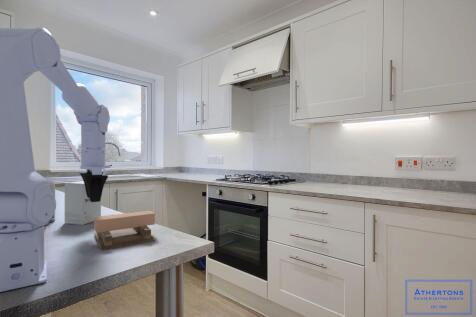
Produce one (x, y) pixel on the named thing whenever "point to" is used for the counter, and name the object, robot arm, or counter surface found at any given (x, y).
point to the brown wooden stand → (123, 237)
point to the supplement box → (79, 204)
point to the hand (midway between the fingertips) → (93, 199)
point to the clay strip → (123, 221)
